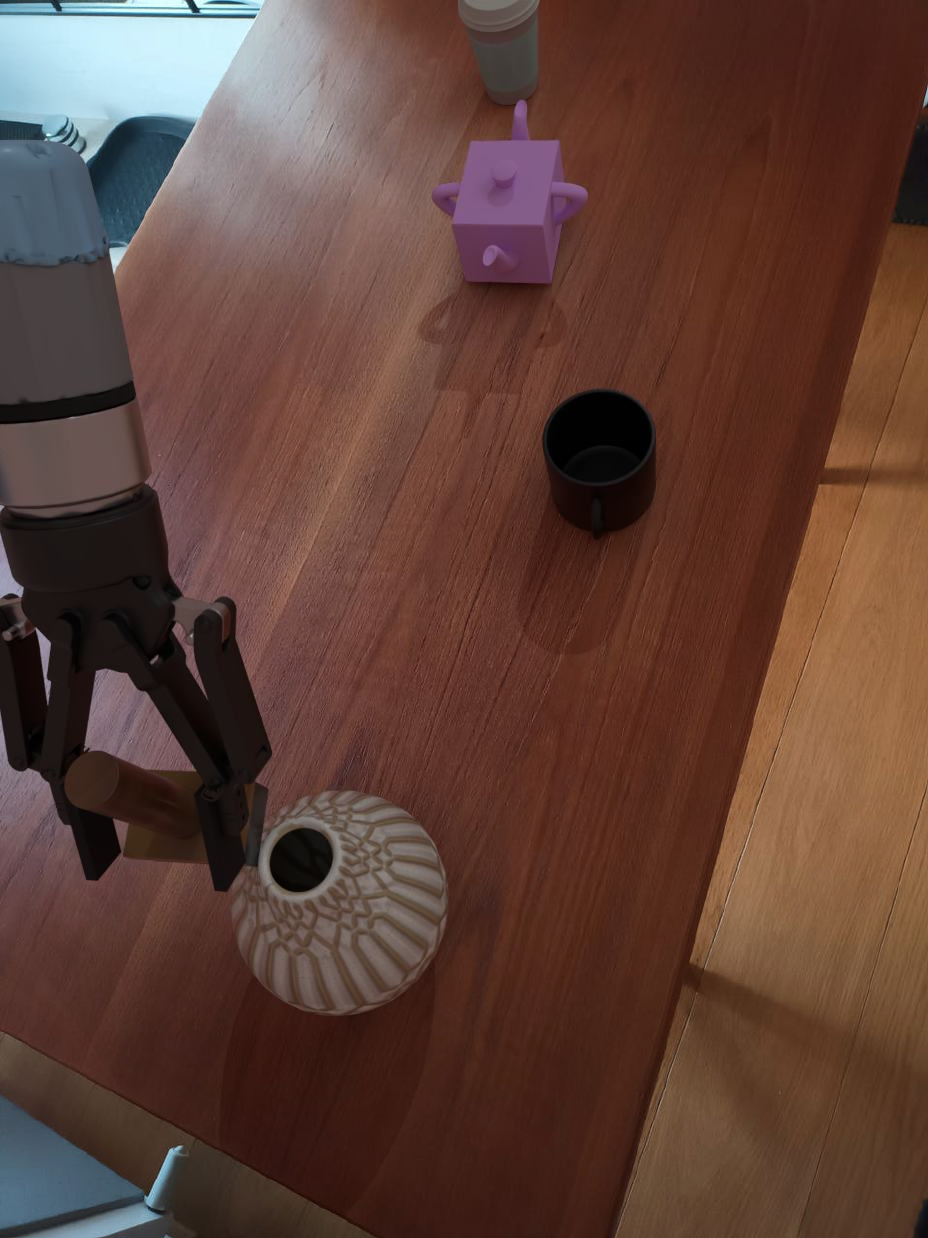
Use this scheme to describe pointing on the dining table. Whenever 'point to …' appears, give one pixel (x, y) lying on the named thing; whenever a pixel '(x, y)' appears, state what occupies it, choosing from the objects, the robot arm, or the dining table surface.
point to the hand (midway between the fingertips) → (166, 870)
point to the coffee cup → (504, 45)
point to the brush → (156, 808)
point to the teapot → (510, 207)
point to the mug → (601, 459)
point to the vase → (341, 903)
